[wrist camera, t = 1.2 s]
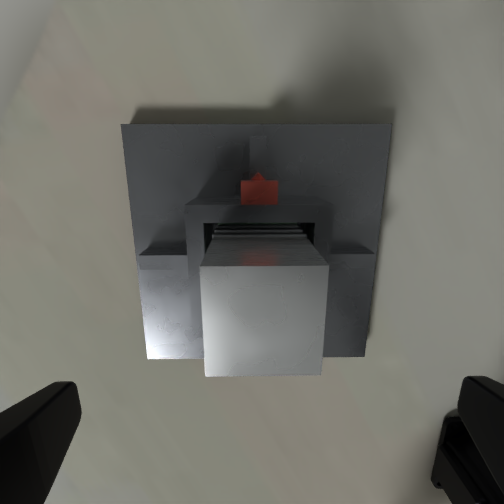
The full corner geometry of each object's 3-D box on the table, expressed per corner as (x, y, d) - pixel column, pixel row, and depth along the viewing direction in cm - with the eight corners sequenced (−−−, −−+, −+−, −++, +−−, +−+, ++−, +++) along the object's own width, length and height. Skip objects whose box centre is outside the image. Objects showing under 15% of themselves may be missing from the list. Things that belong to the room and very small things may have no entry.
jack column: (294, 218, 17) (331, 263, 9) (291, 288, 18) (323, 377, 10) (219, 219, 17) (196, 263, 9) (221, 288, 18) (203, 378, 10)
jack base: (383, 126, 17) (431, 112, 12) (359, 347, 21) (388, 396, 16) (128, 126, 16) (85, 112, 12) (152, 349, 20) (126, 399, 16)
